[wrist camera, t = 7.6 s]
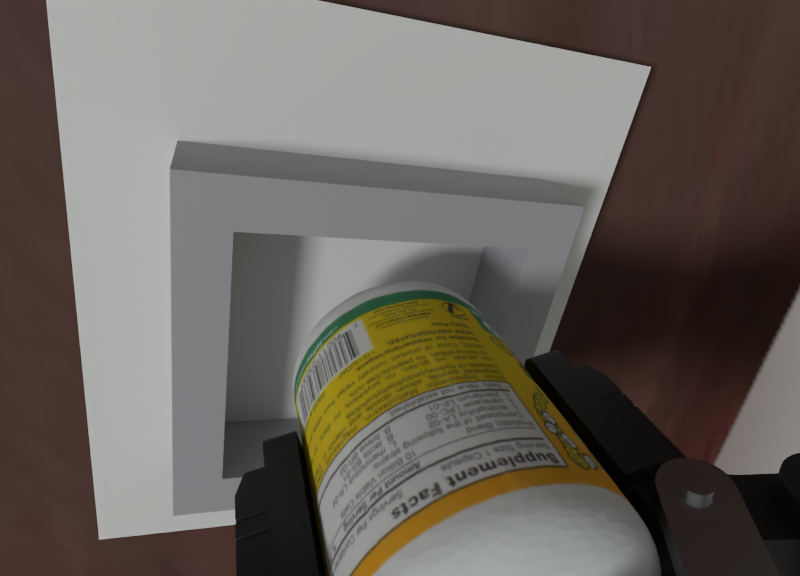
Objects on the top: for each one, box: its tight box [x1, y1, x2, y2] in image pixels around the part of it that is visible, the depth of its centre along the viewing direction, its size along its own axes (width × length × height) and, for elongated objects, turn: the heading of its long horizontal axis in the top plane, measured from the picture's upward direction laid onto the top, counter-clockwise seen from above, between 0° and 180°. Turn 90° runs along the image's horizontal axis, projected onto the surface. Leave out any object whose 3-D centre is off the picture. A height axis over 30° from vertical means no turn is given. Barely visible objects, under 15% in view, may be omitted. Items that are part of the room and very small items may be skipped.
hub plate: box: [46, 0, 651, 540], centre depth 15 cm, size 16×14×3 cm
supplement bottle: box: [293, 281, 661, 576], centre depth 10 cm, size 5×5×10 cm
